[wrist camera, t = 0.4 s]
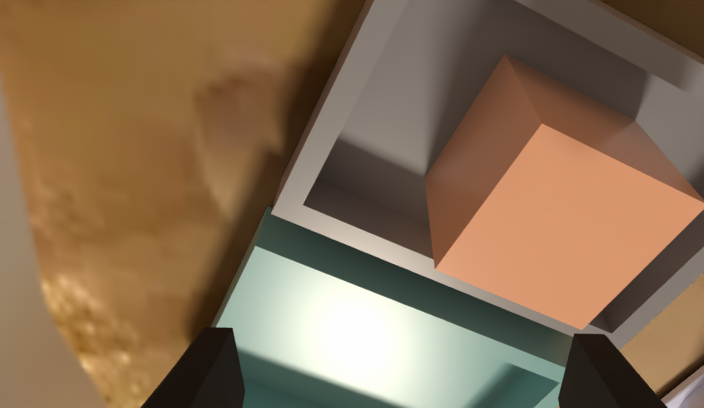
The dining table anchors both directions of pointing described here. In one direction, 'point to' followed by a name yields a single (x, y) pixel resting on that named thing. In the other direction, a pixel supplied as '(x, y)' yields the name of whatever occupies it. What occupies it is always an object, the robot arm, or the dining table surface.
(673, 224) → the terracotta block
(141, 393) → the dining table surface
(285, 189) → the grey bin
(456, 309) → the teal bin
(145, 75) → the dining table surface
